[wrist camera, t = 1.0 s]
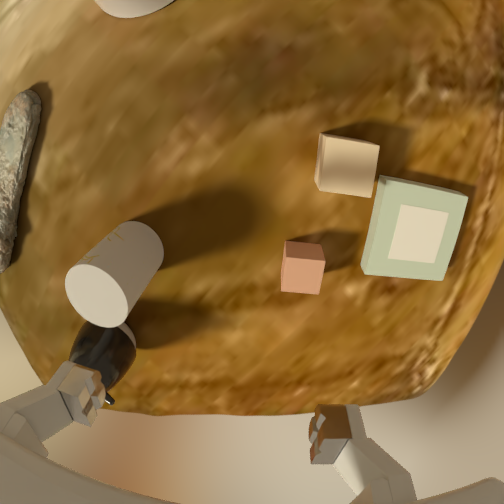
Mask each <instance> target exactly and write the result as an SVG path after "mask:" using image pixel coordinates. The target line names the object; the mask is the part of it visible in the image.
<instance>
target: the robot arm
mask: <svg viewBox="0 0 504 504" xmlns="http://www.w3.org/2000/svg"><path fill="white" fill-rule="evenodd" d="M94 1H95V2H96V3H97V4H98V5H99V6H100V8H101V9H102V10H103V11H105V12H106V13H108V14H110V15H112V16H115V17H121V18H133V17H139V16H143V15H147V14H150V13H152V12H155V11H157V10H159V9H161V8H163V7H165V6H166V5H168V4H170V3H171V2H173V1H174V0H94ZM101 378H102V377H101V374H100V372H99V371H97V370H94V369H91V368H88V367H85V366H82V365H79V364H76V363H73V362H70V361H65V362H63V364H62V365H61V366H60V368H59V369H58V370H57V372H56V373H55V374H54V376H53V377H52V378H51V380H50V381H49V382H48V384H47V385H46V386H45V385H42V386H39V387H37V388H35V389H33V390H30V391H28V392H26V393H23V394H21V395H18V396H16V397H14V398H11V399H9V400H7V401H4V402H2V403H0V504H179V503H174V502H169V501H165V500H161V499H157V498H153V497H149V496H145V495H142V494H138V493H134V492H131V491H128V490H125V489H121V488H118V487H116V486H113V485H110V484H107V483H104V482H101V481H99V480H96V479H93V478H90V477H88V476H86V475H83V474H81V473H78V472H76V471H74V470H71V469H69V468H67V467H64V466H62V465H60V464H58V463H56V462H54V461H52V460H50V459H48V458H46V457H47V456H48V451H47V450H46V448H45V447H44V445H43V444H42V442H43V441H45V440H46V439H48V438H49V437H51V436H52V435H54V434H56V433H57V432H59V431H60V430H62V429H63V428H64V427H66V426H68V425H69V424H71V423H72V422H73V421H75V422H78V423H81V424H84V425H87V426H90V427H91V426H92V424H93V422H94V420H95V418H96V417H97V412H96V410H97V409H99V408H101V407H102V405H103V403H104V400H105V396H106V392H105V387H104V385H103V384H102V383H101V382H100V380H101ZM309 441H310V442H311V443H312V446H311V448H310V460H311V464H333V466H334V467H335V469H336V470H337V471H338V473H339V474H340V475H341V476H342V478H343V479H344V480H345V481H346V483H347V484H348V485H349V486H350V488H351V489H352V490H353V491H354V493H355V494H356V495H357V497H356V498H355V499H354V500H353V501H352V502H351V503H350V504H504V483H503V482H502V481H500V480H498V479H496V478H493V477H490V478H486V479H483V480H481V481H478V482H476V483H473V484H470V485H468V486H465V487H462V488H459V489H456V490H453V491H450V492H446V493H443V494H439V495H436V496H432V497H429V498H425V499H421V500H417V498H416V494H415V490H414V486H413V483H412V479H411V476H410V473H409V472H408V471H407V470H406V469H404V468H403V467H402V466H401V465H400V464H399V463H398V462H397V461H395V460H394V459H393V458H392V457H391V456H390V455H389V454H388V453H386V452H385V451H384V450H383V449H382V448H381V447H380V446H378V445H377V444H376V443H375V442H374V441H373V440H372V439H371V438H367V437H366V433H365V428H364V425H363V420H362V417H361V413H360V409H359V406H358V405H357V404H356V405H343V404H318V405H317V406H316V408H315V416H314V417H312V419H311V422H310V425H309Z"/></svg>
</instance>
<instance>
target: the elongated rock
mask: <svg viewBox="0 0 504 504" xmlns="http://www.w3.org/2000/svg"><path fill="white" fill-rule="evenodd" d="M41 110H42V108H41V100H40V99H39V96H38V95H37V93H36V92H34V91H32V90H25V91H24V92H20V93H19V94H18V95H17V96H16V97H15V98H14V100H13V101H12V102H11V104H10V106H9V107H8V108H7V111H6V113H5V115H4V118H3V122H2V126H1V129H0V273H2V272H4V271H5V270H6V269H7V268H8V267H9V266H10V263H9V262H10V260H11V253H12V250H13V249H12V248H13V246H14V243H13V240H15V237H17V232H16V229H17V218H18V214H19V207H20V205H19V203H20V197H21V194H22V191H23V186H24V184H25V178H26V176H27V169H28V164H29V159H30V155H31V152H32V148H33V145H34V142H35V138H36V135H37V131H38V125H39V123H40V111H41Z"/></svg>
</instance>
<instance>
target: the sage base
mask: <svg viewBox="0 0 504 504" xmlns="http://www.w3.org/2000/svg"><path fill="white" fill-rule="evenodd" d="M467 201H468V197H467V196H466V195H464V194H462V193H461V192H459V191H455V190H451V189H447V188H442V187H438V186H434V185H429V184H424V183H420V182H415V181H410V180H405V179H400V178H395V177H389V176H384V175H379V181H378V186H377V192H376V197H375V202H374V207H373V212H372V217H371V221H370V226H369V231H368V235H367V239H366V244H365V248H364V252H363V256H362V260H361V264H360V265H361V267H362V269H363V271H364V274H367V275H379V276H390V277H402V278H413V279H425V280H437V281H443V278H444V275H445V272H446V270H447V267H448V264H449V261H450V258H451V255H452V252H453V249H454V246H455V243H456V240H457V237H458V233H459V230H460V227H461V223H462V220H463V216H464V212H465V208H466V205H467Z"/></svg>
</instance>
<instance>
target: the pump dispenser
mask: <svg viewBox="0 0 504 504" xmlns="http://www.w3.org/2000/svg"><path fill="white" fill-rule="evenodd" d="M135 358H136V341H135V337H134V334H133V332H132V331H131V329H130V328H129V327H128V326H127V324H125V323H124V322H123V323H122V324H120V325H119V326H116V327H111V328H107V327H101V326H98V325H95V324H93V323H91V322H89V321H87V322H85V323H84V325H83V326H82V327H81V329H80V331H79V333H78V335H77V337H76V339H75V341H74V343H73V346H72V349H71V352H70V356H69V361H70V362H73V363H76V364H79V365H82V366H85V367H88V368H91V369H94V370H97V371H99V372H100V374H101V377H102V378H101V380H100V382H101V383H102V384H103V385H104V387H105V392H106V396H105V400H104V401H106V402H107V403H108V404H110V405H113V404H114V403H115V400H114V399H113V398H112V397H111V396H110V395H109V394H108V393H107V392H108V391H109V390H110V389H112V388H113V387H114V386H115V385H116V384H117V383H118V382H119V381H120V380H121V379H122V378H123V377H124V375H125V374H126V373H127V371H128V370H129V369H130V367H131V366H132V364H133V362H134V360H135Z"/></svg>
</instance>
